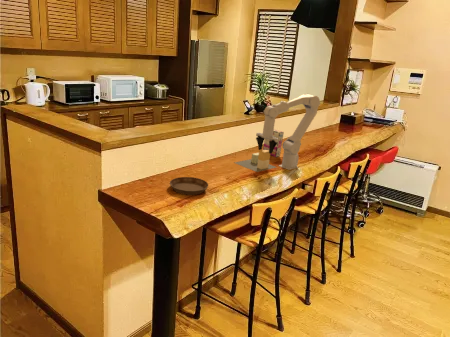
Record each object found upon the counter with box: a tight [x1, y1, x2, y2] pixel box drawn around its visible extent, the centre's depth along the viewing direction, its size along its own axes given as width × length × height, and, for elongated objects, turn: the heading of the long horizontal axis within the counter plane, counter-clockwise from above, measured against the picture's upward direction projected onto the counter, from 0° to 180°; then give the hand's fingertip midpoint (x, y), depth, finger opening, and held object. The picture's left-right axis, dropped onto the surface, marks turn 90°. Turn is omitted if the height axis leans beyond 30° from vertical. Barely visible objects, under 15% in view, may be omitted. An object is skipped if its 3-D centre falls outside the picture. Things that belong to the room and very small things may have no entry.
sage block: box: [251, 152, 259, 164], centre depth 220 cm, size 6×4×5 cm, turn 135°
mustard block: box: [258, 149, 271, 161], centre depth 209 cm, size 6×4×5 cm, turn 134°
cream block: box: [257, 159, 270, 169], centre depth 211 cm, size 6×4×5 cm, turn 135°
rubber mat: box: [233, 159, 277, 173], centre depth 215 cm, size 18×18×1 cm
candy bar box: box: [262, 129, 284, 158], centre depth 239 cm, size 11×5×16 cm, turn 47°
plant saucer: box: [169, 176, 209, 196], centre depth 170 cm, size 18×18×3 cm
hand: (265, 151), depth 210 cm, fingers open, 7 cm apart
